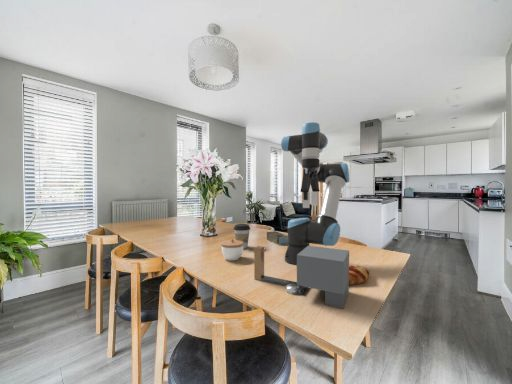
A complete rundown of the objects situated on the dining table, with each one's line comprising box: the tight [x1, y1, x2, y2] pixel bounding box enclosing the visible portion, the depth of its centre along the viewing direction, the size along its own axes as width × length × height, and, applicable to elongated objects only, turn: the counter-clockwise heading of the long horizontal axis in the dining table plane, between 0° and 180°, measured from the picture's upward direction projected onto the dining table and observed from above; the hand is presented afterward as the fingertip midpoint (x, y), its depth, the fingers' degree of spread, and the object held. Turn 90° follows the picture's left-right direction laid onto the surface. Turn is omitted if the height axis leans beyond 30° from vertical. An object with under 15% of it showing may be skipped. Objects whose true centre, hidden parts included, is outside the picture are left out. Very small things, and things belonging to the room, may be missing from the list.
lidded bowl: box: [220, 238, 244, 261], centre depth 132 cm, size 13×13×11 cm
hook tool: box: [253, 245, 307, 296], centre depth 96 cm, size 22×8×14 cm, turn 62°
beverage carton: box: [266, 230, 288, 246], centre depth 171 cm, size 8×19×7 cm, turn 24°
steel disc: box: [285, 284, 299, 295], centre depth 91 cm, size 5×5×2 cm
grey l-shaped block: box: [296, 245, 350, 310], centre depth 88 cm, size 17×15×16 cm
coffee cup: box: [233, 223, 251, 250], centre depth 156 cm, size 11×11×15 cm
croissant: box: [349, 264, 371, 286], centre depth 102 cm, size 21×10×8 cm, turn 125°
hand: (310, 206), depth 104 cm, fingers open, 13 cm apart
